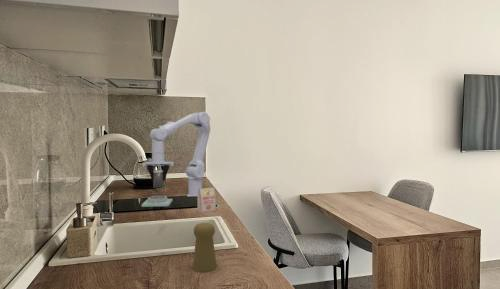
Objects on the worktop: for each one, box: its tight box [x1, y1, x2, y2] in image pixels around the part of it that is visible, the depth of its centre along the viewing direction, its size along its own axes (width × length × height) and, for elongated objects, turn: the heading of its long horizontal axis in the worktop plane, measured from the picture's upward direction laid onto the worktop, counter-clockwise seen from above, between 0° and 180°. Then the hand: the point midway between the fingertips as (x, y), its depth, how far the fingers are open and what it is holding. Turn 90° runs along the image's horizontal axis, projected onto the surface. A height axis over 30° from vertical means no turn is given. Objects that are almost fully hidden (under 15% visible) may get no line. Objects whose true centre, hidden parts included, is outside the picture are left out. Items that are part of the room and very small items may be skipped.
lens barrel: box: [152, 169, 165, 189], centre depth 169 cm, size 5×5×8 cm
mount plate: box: [141, 198, 174, 208], centre depth 162 cm, size 12×12×1 cm
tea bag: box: [196, 187, 217, 214], centre depth 146 cm, size 4×7×10 cm, turn 118°
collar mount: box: [147, 195, 168, 204], centre depth 162 cm, size 9×9×2 cm
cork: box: [192, 222, 218, 273], centre depth 86 cm, size 6×6×11 cm
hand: (158, 180), depth 169 cm, fingers closed on lens barrel, 5 cm apart
